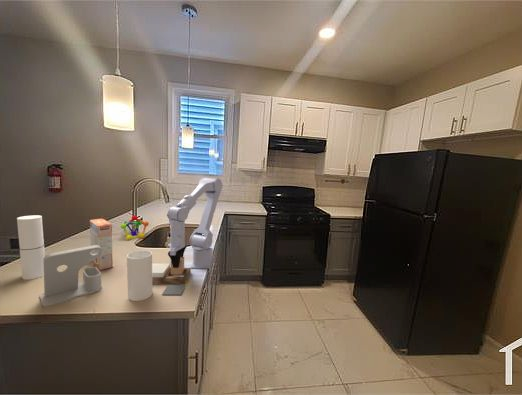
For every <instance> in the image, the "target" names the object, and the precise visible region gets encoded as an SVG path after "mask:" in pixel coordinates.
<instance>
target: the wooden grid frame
mask: <svg viewBox="0 0 522 395" xmlns="http://www.w3.org/2000/svg"><path fill="white" fill-rule="evenodd" d="M191 271H192V268H191V267H184V271H183V273H182V275H183V276H172V274H171V266H170V269H169V270H168V272H167V273H166V274H165V276H164V277H152V285H153V284H155V285H160V284H161V285H162V284H163V285H186V283H187V280H189V277H190V275H191Z"/></svg>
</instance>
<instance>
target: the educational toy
mask: <svg viewBox="0 0 522 395" xmlns="http://www.w3.org/2000/svg"><path fill="white" fill-rule="evenodd" d="M132 221H135V222H132ZM149 224H150V223H149V222H148V221H144V220H141V219H140V218H138V216H136V215H132V216H131V219H130V220H128V221H124V222H123V223H122V224H120V228H121V229H123V231H124V233H125V235H126V236H125V239H126V240H127V241H130V240H131V239H134V238H139V239H144V238H146V234H145V231H146V228H147V227H148V226H149ZM130 225H136V228H135V230H133V229H132V228H131V226H130ZM141 225H143V231H142V232H141V233H137V230H138V229H139V227H140V226H141ZM126 228H127V229H129V231H130V232H131V233H130V234H129V233H128V231H127V229H126Z"/></svg>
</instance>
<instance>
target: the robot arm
mask: <svg viewBox="0 0 522 395" xmlns="http://www.w3.org/2000/svg"><path fill="white" fill-rule="evenodd" d="M222 189H223V182H222V179H220V178H217V177H216V178H215V177H206V176H203V177H202V178H201V179H199V180H198V185H197V186H196V187H195V189H194V190H193V191H192V192H191V193H190V194H187V195H184V196H183V198H182V199H181V200H180V201H179V202H178V203H176V205H175V206H172V207H170V208H169V209H168V211H167V213H166V216H167V218H168V221H169V222H168V223H169V225H170V226H169V227H170V232H169V233H170V234H169V235H170V243H168V244H167V247H169V249H170V250H169V251H168V252H167V256H168V257H169V259H170V262H171V261H172V265H173V268H178V267H179V263H180V258H181V257H184V254H185V250H186V249H187V245H186V242H185V240H186V238H185V237H186V236H185V234H186V232H185V229H186V228H185V227H186V226H185V225H186V224H185V223H186V220H188V217H189V214H190V211H191V210H192V209H193V208H194V207H195V206H196V205H197V200H198V199H199V198H201V196H203V195H206V197H207V199H206V201H205V206H204V209H203V212H202V216H201V219H200V221H199V222H200V223H199V225H198V227H197V228H195V229H194V230H193V232H192V234H191V235H190V237H189V245H190V246H191V248H192V264H191V265H190V268H191V269H211V268H212V265H213V261H214V259H213V257H214V256H213V254H214V251H213V250H214V249H213V247H211V246H212V243H213V236H214V235H213V233H212V231H211V230H210V229H211V225H212V222H213V218H214V217H215V216H214V214H215V212H216V208H217V205H218V201H219V199H220V198H219V197H220V196H221V193H222Z"/></svg>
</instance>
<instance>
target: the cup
mask: <svg viewBox="0 0 522 395" xmlns="http://www.w3.org/2000/svg"><path fill="white" fill-rule="evenodd" d="M152 263H153V252H152V251H151V250H147V249H145V250H144V249H141V250H136V251H131V252H129V253H127V255H126V272H127V274H126V276H127V298H128V300H129V301H132V302H133V301H134V302H139V301H144V300H147V299H149V298H150V297H151V296H152V295H153V284H152Z"/></svg>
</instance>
